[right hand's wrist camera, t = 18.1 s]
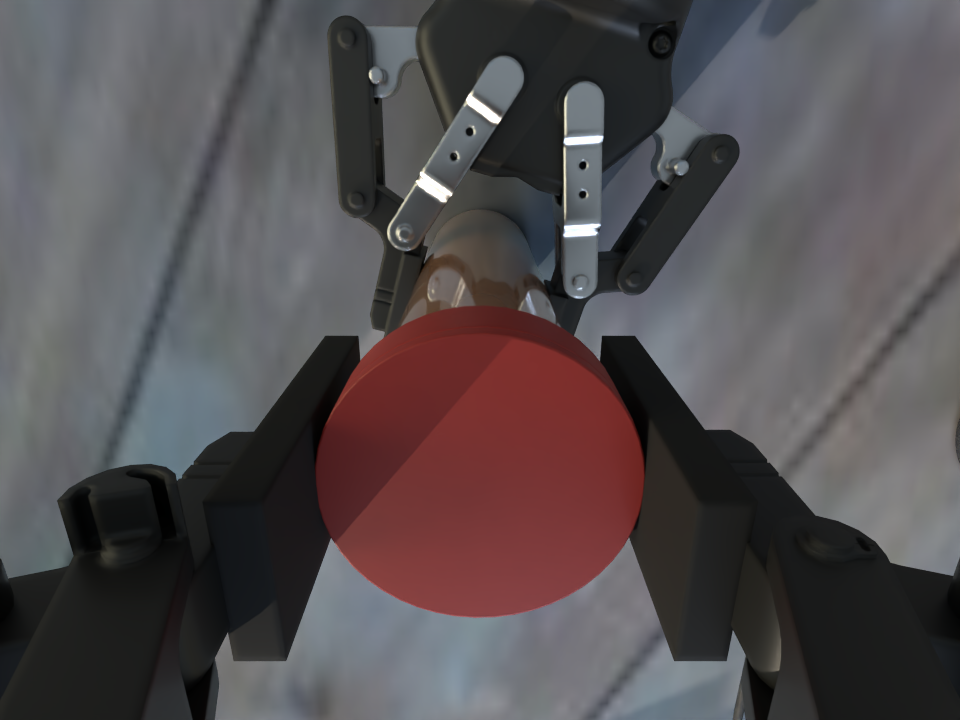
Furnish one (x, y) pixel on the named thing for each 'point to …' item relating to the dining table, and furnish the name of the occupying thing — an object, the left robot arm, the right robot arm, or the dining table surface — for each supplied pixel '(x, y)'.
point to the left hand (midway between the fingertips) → (462, 358)
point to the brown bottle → (480, 269)
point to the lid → (480, 464)
